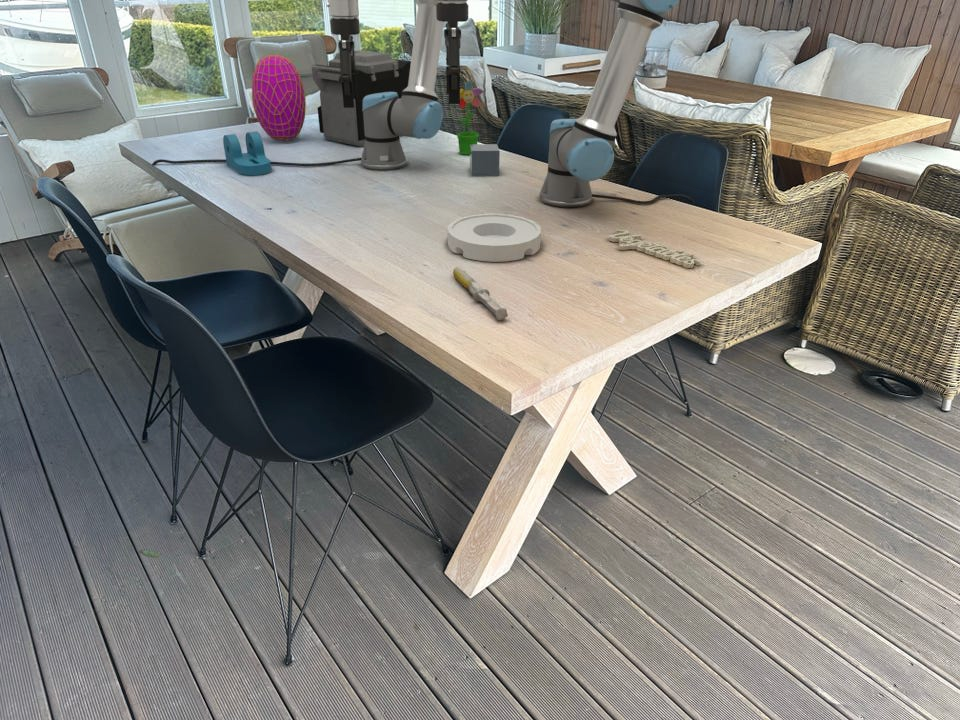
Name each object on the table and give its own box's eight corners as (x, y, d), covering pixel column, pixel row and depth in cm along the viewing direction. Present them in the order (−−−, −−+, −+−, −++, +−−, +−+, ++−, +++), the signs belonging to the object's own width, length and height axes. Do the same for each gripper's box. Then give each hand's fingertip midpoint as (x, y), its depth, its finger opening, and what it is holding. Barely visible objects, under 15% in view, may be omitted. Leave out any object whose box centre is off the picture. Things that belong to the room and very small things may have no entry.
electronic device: (380, 124, 291) (375, 47, 275) (420, 131, 280) (417, 51, 264) (314, 140, 265) (305, 55, 250) (356, 148, 254) (349, 60, 239)
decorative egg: (293, 132, 276) (283, 50, 261) (319, 140, 264) (310, 56, 249) (249, 139, 265) (236, 54, 250) (273, 148, 253) (261, 60, 238)
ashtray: (450, 227, 182) (450, 212, 180) (538, 229, 181) (539, 214, 179) (444, 260, 162) (444, 244, 160) (542, 262, 161) (543, 246, 159)
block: (496, 168, 233) (496, 144, 229) (498, 175, 225) (499, 150, 221) (469, 168, 232) (469, 144, 228) (471, 176, 225) (471, 150, 220)
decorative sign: (595, 237, 174) (620, 228, 179) (594, 240, 174) (619, 231, 180) (683, 268, 157) (708, 257, 162) (683, 272, 157) (707, 261, 163)
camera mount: (227, 164, 233) (221, 132, 227) (257, 160, 238) (252, 129, 233) (244, 176, 220) (239, 143, 215) (276, 172, 225) (271, 139, 220)
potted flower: (461, 156, 246) (461, 82, 233) (452, 151, 252) (451, 78, 239) (485, 153, 249) (486, 80, 237) (475, 148, 255) (475, 77, 243)
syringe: (449, 274, 155) (449, 263, 153) (465, 272, 156) (464, 260, 154) (490, 323, 135) (491, 310, 133) (508, 319, 136) (508, 307, 134)
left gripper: (334, 14, 190) (341, 95, 200) (324, 21, 168) (332, 111, 179) (361, 14, 190) (367, 95, 201) (355, 21, 169) (361, 111, 180)
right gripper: (435, -1, 170) (436, 90, 181) (437, 5, 148) (439, 108, 159) (465, -1, 170) (465, 89, 181) (471, 5, 149) (471, 108, 160)
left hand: (350, 103), depth 190 cm, fingers open, 13 cm apart
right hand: (453, 98), depth 170 cm, fingers open, 13 cm apart
